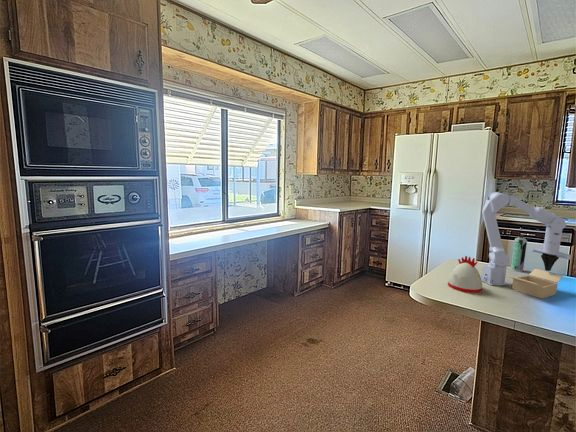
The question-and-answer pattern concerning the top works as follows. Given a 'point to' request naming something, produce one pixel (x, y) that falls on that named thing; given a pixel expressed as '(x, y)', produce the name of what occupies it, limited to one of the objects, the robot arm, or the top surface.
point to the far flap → (546, 275)
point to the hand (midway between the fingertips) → (547, 270)
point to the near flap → (525, 281)
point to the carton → (535, 287)
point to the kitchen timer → (466, 277)
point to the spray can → (519, 254)
